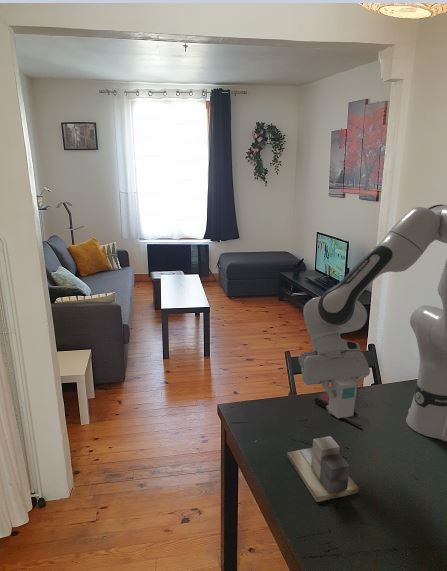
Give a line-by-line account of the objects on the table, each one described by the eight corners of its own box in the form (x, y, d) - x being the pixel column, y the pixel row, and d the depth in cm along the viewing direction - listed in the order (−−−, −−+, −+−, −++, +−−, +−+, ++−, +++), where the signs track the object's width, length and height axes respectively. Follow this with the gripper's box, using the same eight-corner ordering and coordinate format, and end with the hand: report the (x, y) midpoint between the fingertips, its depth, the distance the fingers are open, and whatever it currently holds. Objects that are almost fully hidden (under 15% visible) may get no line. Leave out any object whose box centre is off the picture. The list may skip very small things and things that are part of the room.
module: (343, 406, 122) (347, 375, 119) (353, 416, 117) (357, 383, 115) (328, 408, 121) (331, 377, 118) (337, 418, 116) (341, 386, 113)
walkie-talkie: (309, 404, 150) (359, 430, 136) (310, 393, 149) (360, 418, 135) (324, 396, 156) (373, 420, 141) (325, 386, 155) (375, 409, 140)
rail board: (323, 449, 126) (326, 417, 123) (358, 492, 109) (362, 456, 106) (286, 456, 122) (288, 424, 120) (316, 502, 106) (319, 465, 103)
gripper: (301, 349, 118) (314, 397, 112) (363, 342, 124) (380, 388, 117) (292, 357, 123) (305, 403, 117) (353, 350, 129) (368, 395, 123)
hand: (343, 396), depth 117 cm, fingers closed on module, 5 cm apart
